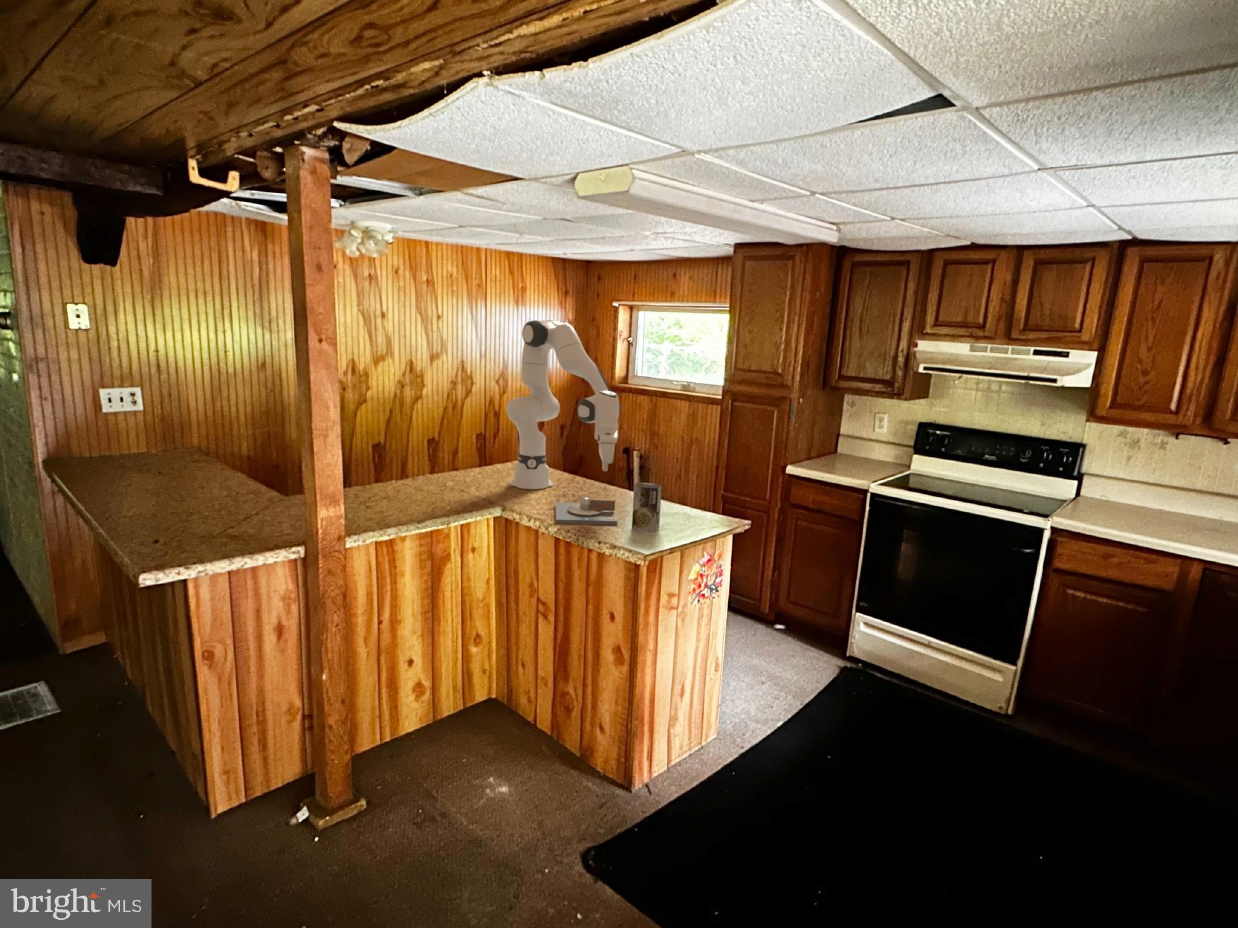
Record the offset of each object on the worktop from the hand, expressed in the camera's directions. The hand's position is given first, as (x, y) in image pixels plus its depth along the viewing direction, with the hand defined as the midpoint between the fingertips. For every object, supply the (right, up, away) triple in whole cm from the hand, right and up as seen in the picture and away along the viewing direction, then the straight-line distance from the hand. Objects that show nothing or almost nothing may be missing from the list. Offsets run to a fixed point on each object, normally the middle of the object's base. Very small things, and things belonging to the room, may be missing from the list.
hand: (604, 470), depth 249 cm
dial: (-5, -15, -3) cm, 16 cm away
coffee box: (+15, -21, -14) cm, 29 cm away
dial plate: (-7, -17, -3) cm, 19 cm away
